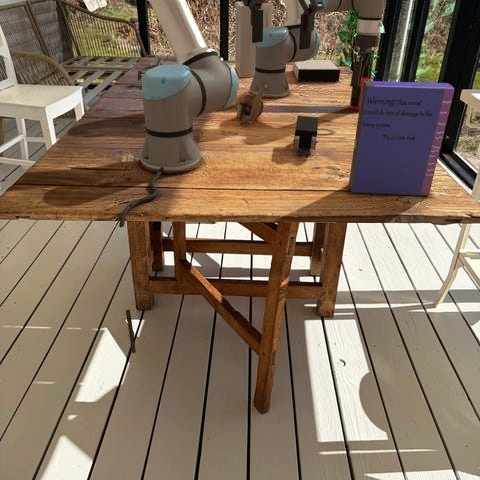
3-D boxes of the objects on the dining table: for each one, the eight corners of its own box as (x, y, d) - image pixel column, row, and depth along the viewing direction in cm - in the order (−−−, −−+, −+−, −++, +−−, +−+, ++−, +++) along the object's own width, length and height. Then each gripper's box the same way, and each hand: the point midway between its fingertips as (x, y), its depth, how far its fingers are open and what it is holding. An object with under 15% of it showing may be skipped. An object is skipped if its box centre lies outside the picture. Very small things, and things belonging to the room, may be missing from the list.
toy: (173, 74, 211) (173, 58, 207) (150, 64, 229) (148, 49, 225) (220, 68, 223) (220, 53, 219) (194, 59, 240) (194, 44, 237)
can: (353, 105, 173) (357, 76, 168) (367, 107, 170) (371, 78, 165) (346, 108, 169) (350, 78, 164) (361, 111, 166) (365, 81, 161)
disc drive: (297, 81, 203) (298, 69, 200) (291, 70, 222) (292, 58, 220) (338, 81, 203) (340, 69, 201) (329, 70, 223) (330, 59, 220)
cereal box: (423, 187, 112) (447, 82, 100) (428, 195, 108) (454, 87, 96) (348, 184, 113) (363, 79, 101) (351, 192, 109) (367, 85, 96)
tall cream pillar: (273, 76, 210) (276, 6, 196) (239, 77, 209) (240, 6, 194) (266, 67, 226) (268, 2, 212) (235, 67, 225) (235, 1, 210)
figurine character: (316, 163, 128) (316, 138, 139) (319, 137, 123) (319, 114, 135) (291, 161, 128) (293, 137, 140) (293, 135, 124) (295, 112, 135)
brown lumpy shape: (251, 126, 162) (245, 130, 148) (232, 108, 161) (224, 111, 147) (276, 97, 158) (272, 99, 144) (257, 79, 157) (251, 79, 143)
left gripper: (349, -75, 87) (337, 49, 97) (252, -69, 102) (251, 38, 113) (324, -77, 82) (315, 53, 93) (226, -70, 98) (228, 41, 108)
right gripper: (368, 38, 148) (358, 111, 160) (388, 31, 162) (377, 99, 174) (346, 36, 151) (337, 108, 163) (366, 29, 166) (357, 96, 178)
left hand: (280, 45), depth 103 cm, fingers open, 13 cm apart
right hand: (357, 103), depth 169 cm, fingers open, 7 cm apart
